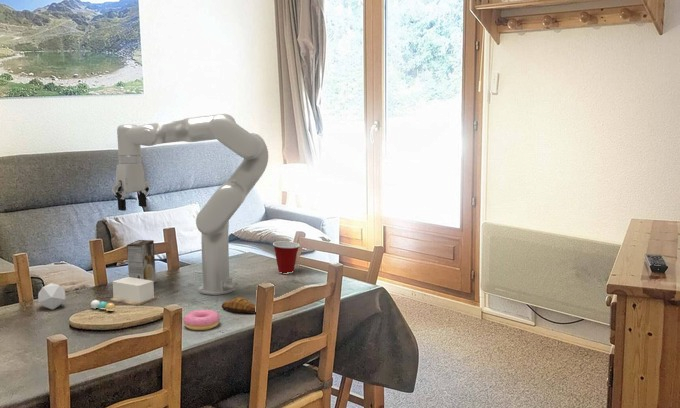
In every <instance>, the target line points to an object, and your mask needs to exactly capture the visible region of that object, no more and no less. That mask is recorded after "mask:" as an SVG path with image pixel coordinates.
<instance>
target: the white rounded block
mask: <svg viewBox="0 0 680 408" xmlns="http://www.w3.org/2000/svg"><path fill="white" fill-rule="evenodd" d="M154 289H155V286H154V282H153V281H151V280H145V279H138V278H132V277H129V276H126V277H123V278H119V279H116V280H113V281H112V293H113V294H112V295H113V296H112V298H114V299H120V300H125V301H130V302H136V303H141V302H144V301H147V300H149V299H152V298H154V297H155V290H154Z"/></svg>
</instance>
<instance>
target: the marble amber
mask: <svg viewBox="0 0 680 408" xmlns="http://www.w3.org/2000/svg"><path fill="white" fill-rule="evenodd" d="M105 308H106V309H112V308H115V309H116V305H115V303H113V302H108V303H107V305H106V307H105Z"/></svg>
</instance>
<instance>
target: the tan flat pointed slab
mask: <svg viewBox="0 0 680 408" xmlns="http://www.w3.org/2000/svg"><path fill="white" fill-rule="evenodd" d="M157 299H158V297H157V296H154V298H152V299H149V300H147V301H144V302H141V303H136V302H130V301H125V300H120V299H114V297H112V298H111V297H110V299H109V301H111V302H118V303H122V304H126V305H132V306H133V305H134V306H140V305H144V304H146V303H149V302H151V301H154V300H157Z"/></svg>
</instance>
